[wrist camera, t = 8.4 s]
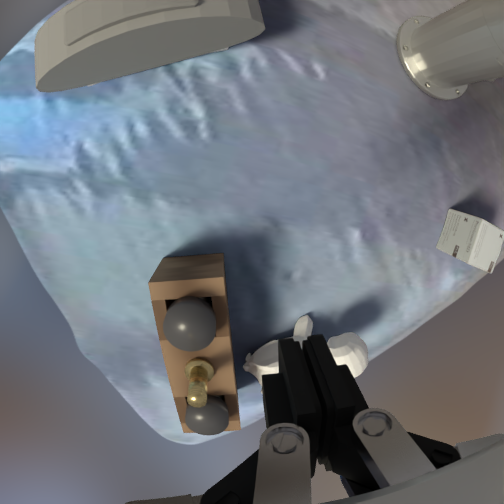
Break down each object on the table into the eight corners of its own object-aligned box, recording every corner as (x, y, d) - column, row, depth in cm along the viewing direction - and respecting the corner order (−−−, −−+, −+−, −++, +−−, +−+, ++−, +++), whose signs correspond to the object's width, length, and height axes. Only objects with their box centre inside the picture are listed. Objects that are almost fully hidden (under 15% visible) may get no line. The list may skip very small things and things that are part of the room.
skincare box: (448, 207, 38) (482, 217, 31) (473, 220, 39) (507, 231, 31) (434, 248, 39) (467, 264, 32) (461, 258, 40) (493, 274, 33)
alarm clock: (248, 7, 29) (260, -53, 17) (258, 50, 31) (276, -1, 18) (62, 57, 28) (7, 26, 16) (66, 100, 30) (5, 80, 18)
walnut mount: (223, 252, 36) (223, 277, 29) (237, 389, 42) (240, 429, 34) (163, 257, 36) (148, 282, 28) (188, 392, 41) (183, 432, 34)
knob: (214, 269, 36) (212, 303, 27) (218, 308, 37) (218, 349, 29) (172, 273, 36) (158, 306, 27) (178, 311, 37) (167, 352, 28)
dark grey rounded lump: (224, 358, 39) (226, 405, 30) (228, 386, 40) (231, 433, 32) (187, 360, 39) (181, 407, 30) (193, 388, 40) (189, 435, 31)
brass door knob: (211, 356, 31) (211, 387, 26) (215, 379, 32) (215, 411, 27) (182, 358, 31) (177, 389, 26) (187, 381, 32) (183, 412, 27)
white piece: (276, 372, 45) (374, 347, 39) (263, 416, 38) (377, 394, 32) (248, 330, 43) (354, 298, 37) (230, 374, 36) (356, 344, 29)
